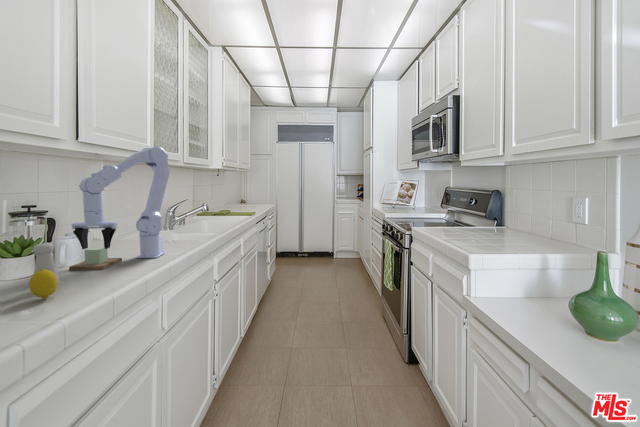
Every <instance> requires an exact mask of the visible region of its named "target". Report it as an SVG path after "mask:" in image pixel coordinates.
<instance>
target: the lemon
mask: <svg viewBox="0 0 640 427" xmlns="http://www.w3.org/2000/svg"><path fill="white" fill-rule="evenodd" d="M57 288H58V285H57V278H56V276H55V274H54V273H53V272H51V271H49V270H45V269H41V270H40V271H37V272H36V273H34V272H33V274H32V276H31V277H30V279H29V290H30V292H31V293H32V295H33V296H35V297H36V298H41V299H43V300H46V299H47V298H48V297H50V296H52V295H54V293H55V292H56V290H57Z"/></svg>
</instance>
